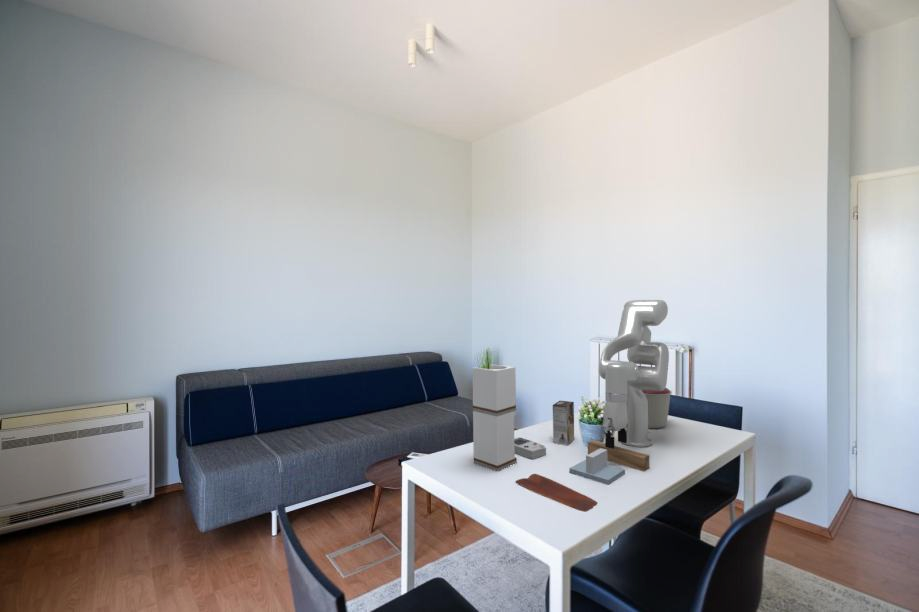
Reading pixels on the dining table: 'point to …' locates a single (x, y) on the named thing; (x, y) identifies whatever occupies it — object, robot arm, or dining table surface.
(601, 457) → the ridge stand
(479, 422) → the tall square planter
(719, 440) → the dining table surface
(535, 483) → the wooden tablet
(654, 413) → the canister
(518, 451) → the handheld gaming device
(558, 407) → the coffee box
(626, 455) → the walnut batten
